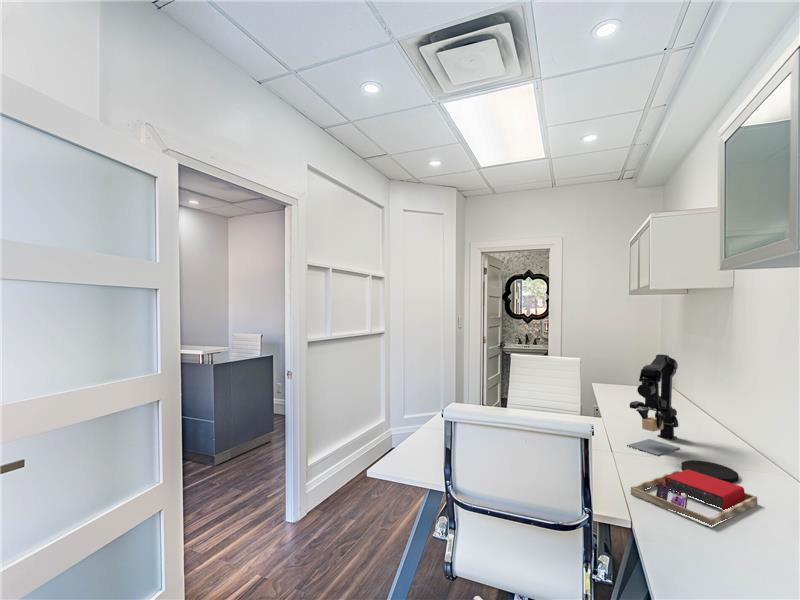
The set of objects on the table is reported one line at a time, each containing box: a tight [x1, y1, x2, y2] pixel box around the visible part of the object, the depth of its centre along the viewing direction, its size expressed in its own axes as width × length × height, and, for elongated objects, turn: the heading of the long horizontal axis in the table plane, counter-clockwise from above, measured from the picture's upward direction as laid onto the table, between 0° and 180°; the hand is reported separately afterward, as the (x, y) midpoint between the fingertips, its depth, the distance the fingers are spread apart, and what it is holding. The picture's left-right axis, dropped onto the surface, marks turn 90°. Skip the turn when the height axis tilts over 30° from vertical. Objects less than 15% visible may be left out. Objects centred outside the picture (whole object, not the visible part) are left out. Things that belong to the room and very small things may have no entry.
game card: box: [655, 483, 689, 509], centre depth 129 cm, size 7×5×9 cm
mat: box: [626, 438, 681, 457], centre depth 183 cm, size 18×14×1 cm
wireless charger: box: [680, 459, 739, 484], centre depth 154 cm, size 18×18×2 cm
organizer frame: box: [630, 469, 758, 526], centre depth 134 cm, size 30×25×2 cm
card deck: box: [641, 416, 663, 433], centre depth 183 cm, size 5×8×4 cm, turn 116°
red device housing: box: [664, 469, 746, 510], centre depth 137 cm, size 18×14×5 cm
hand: (652, 426), depth 183 cm, fingers closed on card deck, 5 cm apart
